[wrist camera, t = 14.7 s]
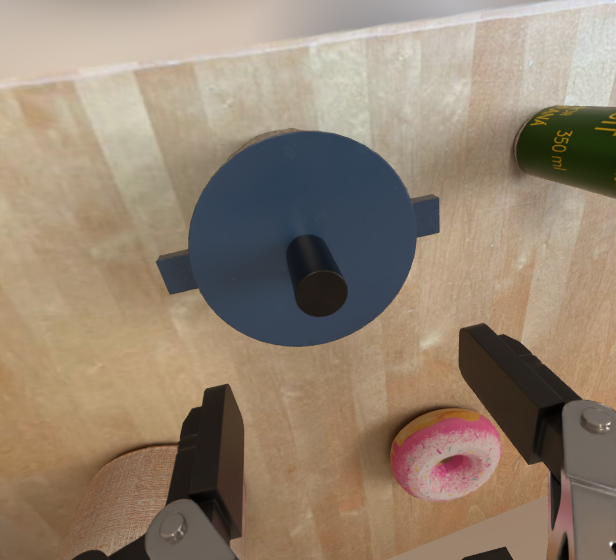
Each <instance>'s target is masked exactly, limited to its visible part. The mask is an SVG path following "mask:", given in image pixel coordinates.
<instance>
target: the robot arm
mask: <svg viewBox="0 0 616 560" xmlns="http://www.w3.org/2000/svg"><path fill="white" fill-rule="evenodd" d="M459 368H460V371H461V374H462V376H463V378H464V380H465V381H466V382H467V384H468V385H469V386H470V388H471V389H472V390H473V392H474V393H475V394H476V396H477V397H478V398H479V400H480V401H481V402H482V404H483V405H484V406H485V408H486V409H487V410H488V412H489V413H490V414H491V416H492V417H493V418H494V420H495V421H496V422H497V424H498V425H499V426H500V428H501V429H502V430H503V432H504V433H505V434H506V436H507V437H508V438H509V440H510V441H511V442H512V444H513V445H514V446H515V448H516V449H517V450H518V452H519V453H520V454H521V456H522V457H523V458H524V460H525V461H526V462H527V464H528V465H530V464H534V463H538V462H542V461H543V462H544V464H545V465H546V466H547V467H548V469H549V472H548V550H547V558H546V560H616V411H615V410H614V409H612V408H610V407H608V406H606V405H604V404H601V403H598V402H595V401H590V400H583V399H582V398H580V397H579V396H578V395H577V394H576V393H575V392H574V391H573V390H572V389H571V388H570V387H568V386H567V385H566V384H565V383H564V382H563V381H562V380H561V379H560V378H559V377H558V376H556V375H555V374H554V373H553V372H552V371H551V370H550V369H549V368H548V367H547V366H545V365H544V364H542V362H541V361H540V360H539V359H538V358H537V357H536V356H535V355H532V353H531V352H530V351H529V350H528V349H527V348H526V347H525V346H524V345H523V344H521V343H520V342H519V341H517V340H515V339H513V338H511V337H509V336H506V335H504V334H503V335H497V334H496V333H495V332H494V331H493V330H491V329H490V328H489V327H488V326H487V325H486V324H484V323H481V324H477V325H473V326H469V327H465V328H461V329H460V332H459ZM177 452H178V453H177V454H176V458H175V463H174V468H173V472H172V477H171V482H170V487H169V491H168V496H167V501H166V504H165V507H164V508H163V509H161V510H160V511H159V512H158V513H157V515H156V516H155V517H154V518H153V520H152V521H151V523H150V525H149V527H148V529H147V532H146V533H145V534H143V535H142V536H141V537H139V538H138V539H136V540H135V541H133V542H131V543H130V544H128V545H126V546H124V547H123V548H121V549H119V550H118V551H116V552H114V553H113V554H111V555H109V556H107V555H106V554H105V553H104V552H102V551H100V550H89V551H86V552H83V553H81V554H79V555H77V556H76V557H74V558H73V559H72V560H239V559H238V557H237V556H236V555H235V553H234V552H233V551H232V549H231V548H230V540H233V539H237V538H241V537H242V514H243V469H244V425H243V419H242V416H241V413H240V410H239V408H238V405H237V403H236V400H235V397H234V395H233V392H232V390H231V387H230V385H229V384H224V385H220V386H216V387H211V388H207V389H205V391H204V397H203V403H202V406H201V407H197V408H193V409H191V411H190V413H189V414H188V416H187V417H186V419H185V421H184V422H183V425H182V430H181V435H180V441H179V444H178V449H177ZM462 560H513V559H512V557H511V555H510V554H509V552H508V550H507V548H506V547H502V548H498V549H495V550H491V551H487V552H483V553H479V554H476V555H472V556H468V557H465V558H463V559H462Z"/></svg>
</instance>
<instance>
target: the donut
mask: <svg viewBox="0 0 616 560" xmlns="http://www.w3.org/2000/svg"><path fill="white" fill-rule="evenodd" d="M501 450H502V449H501V443H500V438H499V433H498V432H497V430H496V429H495V427H494V426H493V425H492V423H491V422H490V421H489V420H488V419H487V418H485V417H484V416H482V415H481V414H479V413H477V412H475V411H472V410H469V409H460V408H451V409H440V410H435V411H432V412H429V413H426V414H424V415H422V416H420V417H418V418H416V419H415V420H413V421H411V422H410V423H409V424H408V425H407V426H405V427H404V428H403V429H402V430H401V431H400V432H399V434H398V435H397V436H396V437H395V439H394V441H393V444H392V447H391V454H390V463H391V469H392V471H393V474H394V477H395V479H396V481H397V482H398V484H399V485H400V486H401V487H402V488H403V489H404V490H405V491H406V492H407V493H408V494H410V495H412V496H414V497H416V498H420V499H423V500H427V501H434V502H441V501H449V500H454V499H457V498H460V497H463V496H465V495H467V494H469V493H471V492H473V491H475V490H476V489H478V488H479V487H480V486H482V485H483V484H484V483H485V482H486V481H487V480H488V479H489V478H490V477H491V475H492V474H493V472H494V471H495V469H496V467H497V464H498V462H499V459H500V457H501Z"/></svg>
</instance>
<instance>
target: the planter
mask: <svg viewBox="0 0 616 560" xmlns="http://www.w3.org/2000/svg"><path fill="white" fill-rule="evenodd" d="M177 449H178V445H162V446H152V447H146V448H142V449H138V450H135V451H132V452H129V453H126V454H124V455H121V456H119V457H117V458H115V459H114V460H112V461H110V462H109V463H107V464H106V465H104V466H103V467H102V468H101V469H100V470H99V471H98V472H97V473H96V474H95V475H94V477H93V478H92V480H91V481H90V483H89V485H88V487H87V488H86V490H85V493H84V495H83V497H82V500H81V502H80V504H79V507H78V509H77V512H76V514H75V517H74V519H73V522H72V524H71V527H70V529H69V532H68V534H67V537H66V539H65V542H64V544H63V547H62V549H61V552H60V554H59V557H58V559H57V560H72V559H73V558H74V557H76V556H77V555H79V554H81V553H83V552H86V551H89V550H100V551H102V552H104V553H105V554H106V555H107V556H109V555H111V554H113V553H114V552H116V551H118V550H119V549H121V548H123V547H124V546H126V545H128V544H130V543H131V542H133V541H135V540H136V539H138V538H139V537H141V536H142V535H143V534H145V533H146V532H147V529H148V527H149V525H150V523H151V521H152V520H153V518H154V517H155V516H156V515H157V513H158V512H159V511H160V510H161V509H163V508H164V507H165V504H166V501H167V496H168V491H169V487H170V482H171V477H172V472H173V468H174V463H175V458H176V454H177V453H178V452H177ZM245 522H246V492H245V485H244V481H243V514H242V537H241V538H237V539H233V540H230V548H231V549H232V551H233V552H234V553H235V555H236V556H237V557H238V559H239V560H244V556H245Z"/></svg>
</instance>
